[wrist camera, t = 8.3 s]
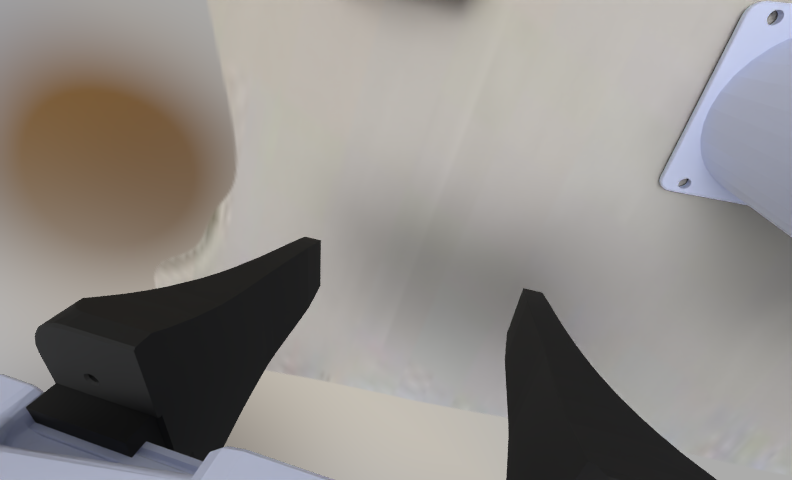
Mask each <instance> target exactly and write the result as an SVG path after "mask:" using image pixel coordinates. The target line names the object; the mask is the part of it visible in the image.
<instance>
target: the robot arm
mask: <svg viewBox="0 0 792 480" xmlns="http://www.w3.org/2000/svg"><path fill="white" fill-rule="evenodd" d="M773 11H777V13H778V17H777V19H776V20H775V22H774V23H772V24H770V25H769V24H768V23H767V17H768V16H769V14H770V13H771V12H773ZM687 178H688V182H687V183H686V184H685V185H683V186H678V184H679V182H680V181H681V180H682V179H687ZM659 182H660V185H661V186H662V187H663V188H664V189H665V190H668V191H673V192H678V193H684V194H689V195H695V196H700V197H705V198H711V199H716V200H722V201H727V202H732V203H738V204H743V205H748V206H750V207H751V208H752V209H754V210H755V211H757V212H758V213H759V214H761V215H762V216H763V217H765V218H766V219H767V220H769V221H770V222H771V223H773V224H774V225H775V226H777V227H778V228H779V229H781V230H782V231H784V232H785V233H786V234H788V235H789V236H790V237H792V3H782V2H773V1H763V2H757V3H754V4H752V5H751V6H749V7H748V8H747V9H746V10H745V11H744V13H743V14H742V16H741V18H740V20H739V22H738V24H737V26H736V28H735V30H734V32H733V34H732V36H731V38H730V40H729V42H728V44H727V46H726V48H725V50H724V52H723V54H722V56H721V58H720V60H719V62H718V64H717V66H716V68H715V70H714V72H713V74H712V76H711V78H710V80H709V82H708V84H707V86H706V88H705V90H704V91H703V93H702V95H701V97H700V99H699V101H698V103H697V105H696V107H695V109H694V111H693V113H692V115H691V117H690V119H689V121H688V123H687V125H686V127H685V129H684V131H683V133H682V135H681V137H680V139H679V141H678V143H677V145H676V147H675V149H674V151H673V153H672V155H671V157H670V159H669V161H668V163H667V165H666V167H665V169H664V171H663V173H662V175H661V177H660V180H659ZM320 255H321V240H316V239H312V238H308V237H303V238H301V239H298V240H296V241H294V242H292V243H289V244H287V245H285V246H283V247H281V248H279V249H276V250H274V251H272V252H270V253H268V254H265V255H263V256H261V257H259V258H256V259H254V260H251V261H249V262H246V263H244V264H241V265H239V266H237V267H234V268H231V269H229V270H226V271H223V272H220V273H217V274H214V275H211V276H207V277H204V278H201V279H197V280H193V281H189V282H185V283H181V284H176V285H172V286H168V287H163V288H158V289H153V290H147V291H141V292H134V293H127V294H120V295H111V296H101V297H92V298H82V299H81V300H79V301H77V302H76V303H75V304H73V305H71V306H70V307H68V308H67V309H65V310H64V311H62V312H60V313H59V314H57V315H56V316H54V317H53V318H51V319H50V320H48V321H47V322H45V323H44V324H42V325H40V326H39V327H38V329H37V331H36V333H35V342H36V346H37V348H38V351H39V353H40V355H41V357H42V359H43V361H44V362H45V364H46V366H47V368H48V370H49V372H50V373H51V375H52V377H53V379H54V381H55V383H56V384H55V385H53V386H52V387H51V388H50V389H48V390H47V391H46V392H43V391H42V390H41V389H39V388H38V387H36V386H34V385H32V384H30V383H27V382H24V381H21V380H18V379H15V378H13V377H10V376H7V375H4V374H0V480H334V479H331V478H328V477H325V476H322V475H319V474H316V473H314V472H310V471H308V470H305V469H302V468H299V467H296V466H293V465H290V464H287V463H284V462H281V461H278V460H276V459H273V458H269V457H267V456H264V455H261V454H258V453H255V452H252V451H249V450H246V449H241V448H235V447H229V446H227V447H224V445H225V443H226V441H227V439H228V437H229V435H230V433H231V431H232V429H233V427H234V425H235V423H236V421H237V419H238V417H239V415H240V413H241V412H242V410H243V407H244V406H245V404H246V402H247V400H248V399H249V396H250V395H251V393H252V391H253V390H254V388H255V386H256V384H257V382H258V381H259V379H260V377H261V375H262V374H263V372H264V370H265V369H266V367H267V365H268V364H269V362H270V361H271V359H272V358H273V356H274V355H275V353H276V352H277V350H278V349H279V348H280V346H281V345H282V344H283V342H284V341H285V340H286V338H287V337H288V335H289V334H290V333H291V331H292V330H293V329H294V327H295V326H296V325H297V323H298V322H299V320H300V319H301V318H302V316H303V315H304V313H305V312H306V311H307V309H308V308H309V306H310V304H311V302H312V300H313V299H314V297H315V295H316V293H317V291H318V289H319V287H320ZM505 370H506V388H507V405H508V423H509V441H508V461H507V478H506V480H716V479H715V478H714V477H712V476H711V475H710V474H708V473H707V472H706V471H705V470H703V469H702V468H700V467H699V466H698V465H697V464H695V463H694V462H693V461H691V460H690V459H689V458H687V457H686V456H685V455H683V454H682V453H681V452H680V451H679V450H677V449H676V448H675V447H674V446H673V445H671V444H670V443H669V442H668V441H667V440H665V439H664V438H663V437H662V436H661V435H660V434H658V433H657V432H656V431H655V430H654V429H653V428H652V427H650V426H649V425H648V424H647V423H646V422H645V421H644V420H643V419H642V418H641V417H639V416H638V415H637V414H636V413H635V412H634V411H633V410H632V409H631V408H630V407H629V406H628V405H627V404H626V403H625V402H624V401H623V400H622V399H621V398H620V397H619V396H618V395H617V394H616V393H615V392H614V391H613V390H612V389H611V387H610V386H609V385H608V384H607V383H606V382H605V381H604V380H603V378H602V377H601V376H600V375H599V374H598V373H597V372H596V370H595V369H594V368H593V367H592V366H591V364H590V363H589V362H588V360H587V359H586V358H585V357H584V355H583V354H582V353H581V351H580V350H579V349H578V347H577V346H576V345H575V343H574V342H573V340H572V339H571V337H570V336H569V334H568V333H567V331H566V330H565V329H564V327H563V325H562V324H561V322H560V321H559V319H558V317H557V316H556V314H555V313H554V311H553V309H552V308H551V306H550V304H549V303H548V301H547V299H546V298H545V296H544V295H543V293H541V292H537V291H532V290H528V289H524V288H523V291H522V294H521V296H520V299H519V302H518V305H517V308H516V310H515V313H514V316H513V319H512V321H511V324H510V327H509V330H508V332H507V341H506V354H505Z"/></svg>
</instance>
